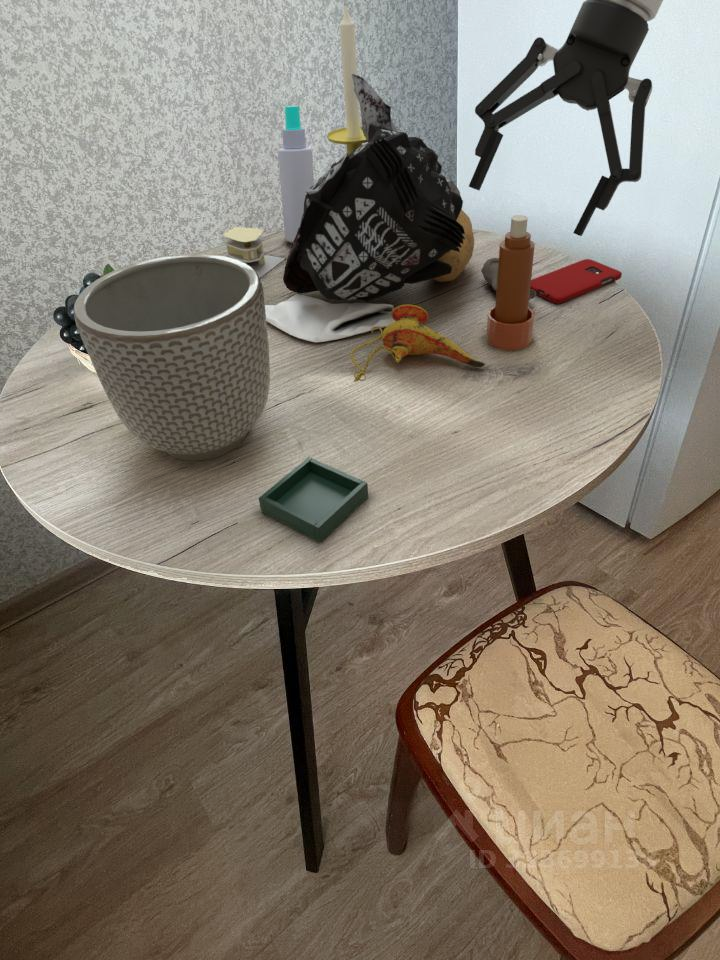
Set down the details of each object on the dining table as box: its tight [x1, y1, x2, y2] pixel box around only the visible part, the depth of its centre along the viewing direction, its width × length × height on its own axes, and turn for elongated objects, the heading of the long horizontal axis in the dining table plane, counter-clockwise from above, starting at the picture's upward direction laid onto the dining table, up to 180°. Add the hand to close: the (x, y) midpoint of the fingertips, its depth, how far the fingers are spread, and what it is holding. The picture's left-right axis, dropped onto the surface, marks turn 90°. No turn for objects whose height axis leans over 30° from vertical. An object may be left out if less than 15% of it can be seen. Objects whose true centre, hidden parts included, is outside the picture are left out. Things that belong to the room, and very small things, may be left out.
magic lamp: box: [350, 304, 486, 383], centre depth 93 cm, size 7×18×11 cm
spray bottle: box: [277, 105, 315, 244], centre depth 124 cm, size 6×6×22 cm
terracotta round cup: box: [486, 306, 535, 352], centre depth 97 cm, size 6×6×4 cm
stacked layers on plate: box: [222, 226, 286, 279], centre depth 122 cm, size 10×9×6 cm
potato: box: [431, 209, 475, 283], centre depth 112 cm, size 9×16×9 cm, turn 158°
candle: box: [326, 2, 368, 155], centre depth 110 cm, size 10×10×38 cm
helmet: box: [282, 74, 465, 302], centre depth 103 cm, size 26×26×30 cm
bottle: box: [494, 214, 536, 324], centre depth 93 cm, size 4×4×16 cm
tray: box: [258, 456, 369, 544], centre depth 74 cm, size 8×8×2 cm
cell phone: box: [530, 258, 623, 305], centre depth 110 cm, size 8×15×1 cm, turn 124°
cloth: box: [265, 293, 395, 343], centre depth 105 cm, size 26×14×2 cm, turn 66°
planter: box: [73, 253, 271, 462], centre depth 79 cm, size 20×20×19 cm
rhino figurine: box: [480, 257, 537, 301], centre depth 108 cm, size 4×14×6 cm
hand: (524, 211), depth 82 cm, fingers open, 13 cm apart
